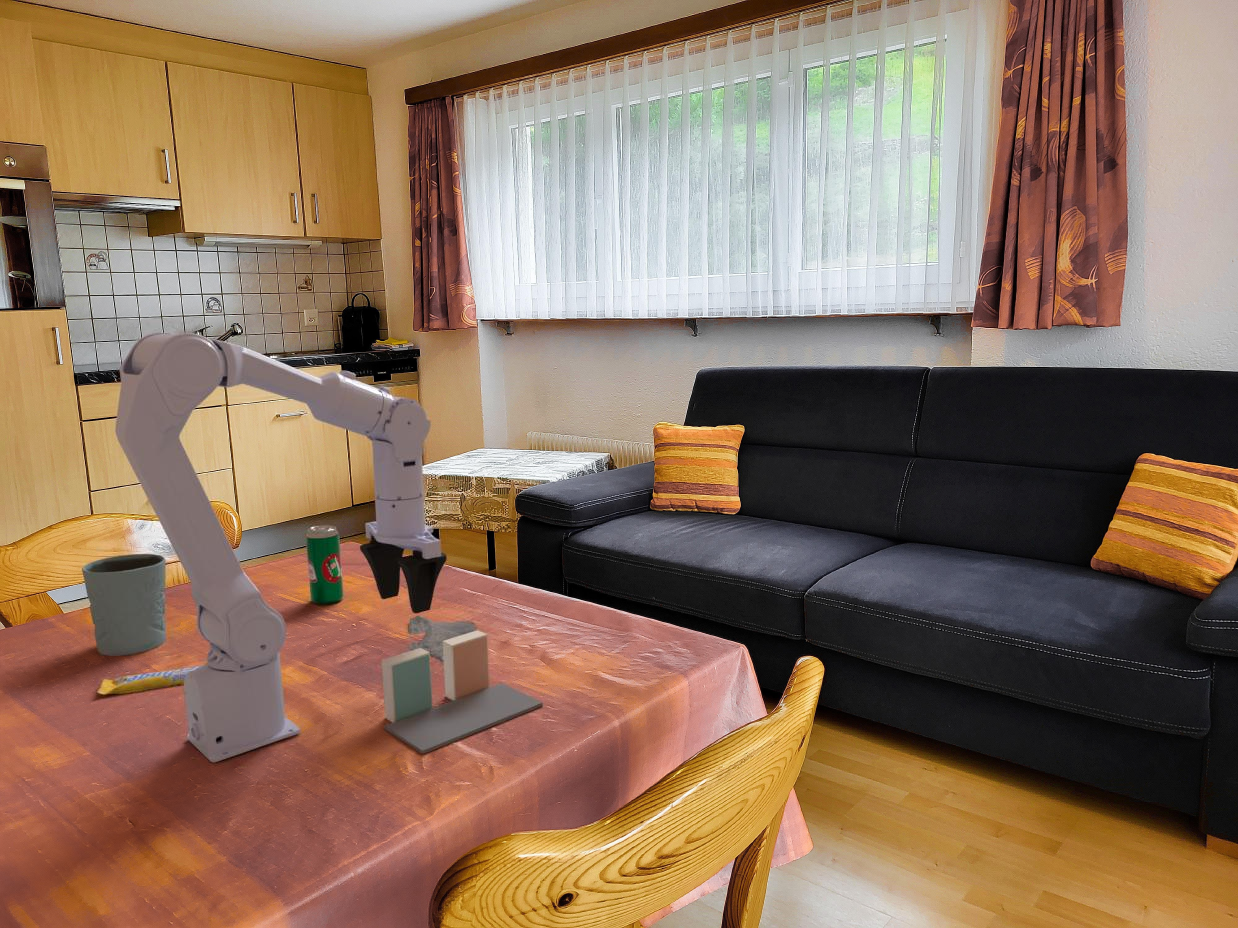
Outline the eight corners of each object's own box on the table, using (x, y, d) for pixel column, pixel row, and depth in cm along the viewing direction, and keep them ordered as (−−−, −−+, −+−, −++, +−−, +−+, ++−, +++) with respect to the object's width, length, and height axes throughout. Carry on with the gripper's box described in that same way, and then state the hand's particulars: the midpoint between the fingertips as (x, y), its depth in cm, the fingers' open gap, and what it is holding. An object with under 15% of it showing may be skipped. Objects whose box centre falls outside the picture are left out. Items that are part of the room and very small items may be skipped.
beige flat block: (395, 723, 99) (391, 665, 98) (385, 717, 101) (381, 659, 100) (433, 709, 103) (430, 652, 101) (423, 704, 104) (420, 647, 103)
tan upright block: (455, 701, 105) (452, 645, 103) (445, 696, 106) (442, 640, 105) (490, 688, 108) (487, 634, 107) (480, 683, 110) (477, 630, 108)
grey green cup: (75, 654, 122) (64, 570, 120) (131, 629, 131) (122, 550, 129) (137, 660, 119) (127, 574, 117) (189, 633, 129) (181, 554, 127)
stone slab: (406, 616, 132) (473, 607, 133) (407, 628, 132) (474, 618, 134) (401, 666, 114) (478, 655, 116) (402, 680, 115) (480, 668, 116)
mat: (422, 753, 92) (422, 750, 92) (384, 728, 98) (384, 725, 98) (542, 705, 103) (542, 702, 103) (501, 685, 109) (501, 682, 109)
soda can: (311, 597, 144) (305, 526, 142) (343, 594, 146) (338, 523, 144) (310, 607, 140) (304, 533, 138) (343, 603, 141) (338, 530, 139)
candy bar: (247, 667, 117) (246, 653, 117) (247, 678, 114) (246, 665, 113) (103, 689, 111) (101, 675, 111) (98, 702, 107) (96, 687, 107)
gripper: (461, 499, 104) (465, 609, 106) (398, 483, 115) (403, 584, 117) (408, 508, 99) (413, 623, 102) (347, 491, 110) (354, 596, 112)
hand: (405, 603), depth 109 cm, fingers open, 7 cm apart
